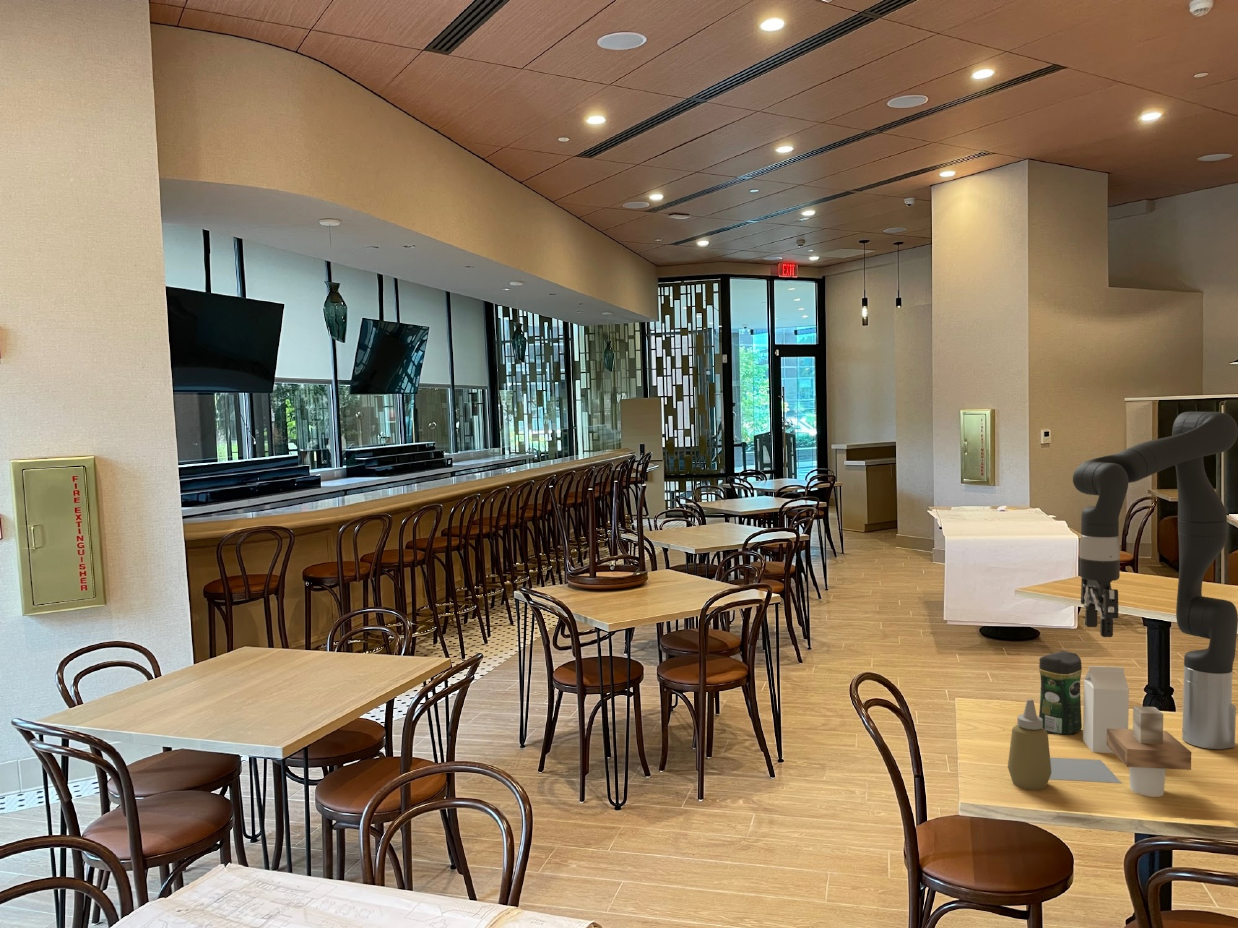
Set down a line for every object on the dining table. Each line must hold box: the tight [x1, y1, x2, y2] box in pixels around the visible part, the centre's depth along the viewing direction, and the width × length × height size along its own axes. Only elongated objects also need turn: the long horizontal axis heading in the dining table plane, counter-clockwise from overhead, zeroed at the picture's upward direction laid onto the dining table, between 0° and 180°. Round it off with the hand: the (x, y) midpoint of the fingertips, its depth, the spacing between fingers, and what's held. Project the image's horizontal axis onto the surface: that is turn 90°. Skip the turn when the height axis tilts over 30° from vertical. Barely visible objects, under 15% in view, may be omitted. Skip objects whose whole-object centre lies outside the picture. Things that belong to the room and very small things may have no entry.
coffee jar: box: [1038, 650, 1083, 736], centre depth 212 cm, size 10×8×19 cm
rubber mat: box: [1049, 756, 1122, 784], centre depth 187 cm, size 14×12×1 cm
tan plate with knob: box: [1107, 705, 1192, 771], centre depth 176 cm, size 11×11×10 cm
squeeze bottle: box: [1007, 698, 1052, 791], centre depth 180 cm, size 8×8×18 cm
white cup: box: [1128, 767, 1167, 798], centre depth 176 cm, size 7×7×10 cm
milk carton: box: [1082, 665, 1130, 754], centre depth 199 cm, size 7×7×19 cm
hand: (1098, 631), depth 190 cm, fingers open, 8 cm apart
